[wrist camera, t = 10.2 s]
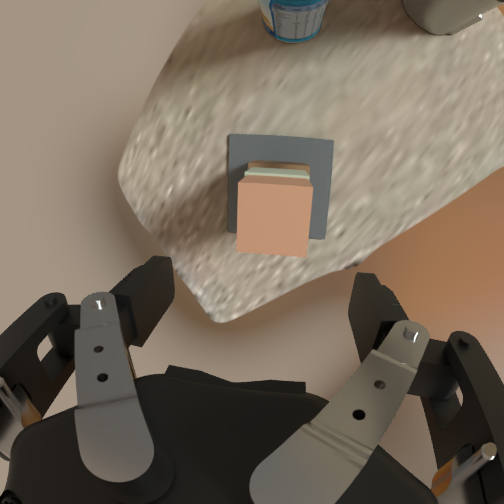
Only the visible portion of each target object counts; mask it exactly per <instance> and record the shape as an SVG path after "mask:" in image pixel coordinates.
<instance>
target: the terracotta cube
mask: <svg viewBox="0 0 504 504" xmlns="http://www.w3.org/2000/svg"><path fill="white" fill-rule="evenodd" d="M312 196H313V186H312V185H311V183H310V181H309V180H308V179H306V178H294V177H281V176H265V175H247V176H246V177H244V178H243V179H242V180H240V181H239V182H238V207H237V252H247V253H259V254H272V255H285V256H297V257H306V255H307V246H308V237H309V227H310V217H311V207H312Z"/></svg>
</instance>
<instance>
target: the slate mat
mask: <svg viewBox="0 0 504 504" xmlns="http://www.w3.org/2000/svg"><path fill="white" fill-rule="evenodd" d="M333 145H334V141H332V140H323V139H314V138H302V137H289V136H272V135H243V134H229V172H228V232H234V233H237V207H238V182H239V181H240V180H242V179H243V178H244V177H245V172H246V171H247V170H248V163H249V162H251V161H253V160H264V161H281V162H295V163H307V164H308V165H309V166H310V175H309V176H310V178H309V181H310V183H311V185H312V186H313V196H312V207H311V217H310V227H309V237H308V238H315V239H325V233H326V224H327V215H328V206H329V196H330V185H331V174H332V160H333Z"/></svg>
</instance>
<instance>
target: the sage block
mask: <svg viewBox="0 0 504 504" xmlns="http://www.w3.org/2000/svg"><path fill="white" fill-rule="evenodd" d="M247 175H265V176H281V177H294V178H306V179H308V180H309V178H310V176H309V175H308V173H307V172H306V171H305V170H292V169H278V168H260V167H252V168H250V169H249V170H247V171H246V172H245V177H246V176H247Z"/></svg>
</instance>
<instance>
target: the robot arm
mask: <svg viewBox="0 0 504 504" xmlns="http://www.w3.org/2000/svg"><path fill="white" fill-rule="evenodd" d="M503 3H504V0H403V5H404V8H405V10H406V12H407V13H408V15H409V16H410V18H411V19H412V20H413V21H414V22H415V23H416V24H417V25H419V26H420V27H421V28H423V29H424V30H426V31H428V32H430V33H432V34H436V35H444V34H451V35H454V34H456V33H457V32H459V31H461V30H463V29H465V28H467V27H469V26H471V25H473V24H475V23H477V22H479V21H481V20H482V14H483V13H485V12H487V11H489V10H491V9H493V8H495V7H497V6H499V5H501V4H503ZM174 293H175V287H174V278H173V267H172V260H171V258H170V257H164V256H153V257H151V258H150V260H148V261H147V262H146V263H145V264H144V265H141V266H139V267H137V268H135V269H133V270H132V271H131V272H130V273H129V274H128V275H127V276H126V277H125V278H123V280H121V281H120V282H119V283H118V284H117V285H116V286H115V287H114V288H113V289H112V290H110V292H96V293H93V294H91V295H88V296H87V297H85V298H84V299H83V300H82V302H81V305H68V304H67V300H66V297H65V295H64V294H62V293H57V292H56V293H50V294H47V295H45V296H43V297H41V298H40V299H39V300H38V301H37V302H35V303H34V304H33V305H32V306H31V307H30V308H29V309H28V310H26V311H25V312H24V313H23V314H22V315H21V316H20V317H19V318H18V319H17V320H16V321H15V322H13V323H12V325H10V326H9V327H8V328H7V329H6V330H5V331H4V332H3V333H2V334H1V335H0V457H1V458H3V459H4V460H6V461H10V463H9V473H8V478H7V483H6V486H5V489H4V491H3V493H2V495H1V496H0V504H504V384H503V383H502V381H501V379H500V377H499V375H498V374H497V372H496V370H495V368H494V366H493V364H492V363H491V361H490V359H489V358H488V356H487V354H486V353H485V351H484V349H483V348H482V346H481V345H480V343H479V342H478V340H477V339H476V338H475V337H474V336H472V335H470V334H469V333H466V332H463V331H455V332H453V333H451V335H450V337H449V339H448V341H447V342H444V341H438V340H434V339H430V335H429V332H428V330H427V329H426V328H425V327H424V326H422V325H421V324H419V323H417V322H414V321H410V320H409V319H408V317H407V315H406V313H405V312H404V310H403V308H402V307H401V305H400V303H399V301H398V300H397V298H396V296H395V295H394V293H393V291H391V290H390V289H389V288H387V287H386V286H385V285H381V284H380V282H379V280H378V279H377V277H376V276H375V274H374V273H359V272H358V273H357V274H356V276H355V280H354V285H353V290H352V294H351V299H350V303H349V309H348V316H349V321H350V324H351V328H352V331H353V335H354V339H355V343H356V346H357V350H358V354H359V358H360V361H361V365H360V366H359V368H358V369H357V370H356V371H355V372H354V374H353V375H352V376H351V377H350V379H349V380H348V381H347V382H346V383H345V385H344V386H343V387H342V388H341V390H339V392H338V393H337V394H336V395H335V396H334V397H333V399H332V400H331V401H330V402H329V401H328V400H326V399H324V398H322V397H319V396H317V395H314V394H311V393H307V392H306V386H305V385H306V383H305V382H294V381H279V380H264V381H252V382H238V383H235V382H229V381H227V380H224V379H221V378H218V377H216V376H213V375H210V374H208V373H205V372H202V371H199V370H193V369H188V368H182V367H177V366H172V365H169V366H168V368H167V370H166V372H165V374H153V375H147V376H143V377H139V378H137V377H136V373H135V370H134V367H133V363H132V359H131V356H130V352H129V349H128V348H129V346H130V345H134V346H138V347H142V346H143V345H144V343H145V342H146V340H147V339H148V337H149V336H150V334H151V333H152V331H153V329H154V328H155V326H156V325H157V323H158V322H159V321H160V319H161V318H162V316H163V315H164V313H165V312H166V310H167V309H168V307H169V306H170V304H171V303H172V301H173V299H174ZM47 335H48V337H49V339H50V342H51V344H52V346H53V347H52V349H51V350H50V351H49V352H48V353H47V354H46V356H45V357H44V358H43V359H42V361H41V362H40V360H39V358H38V355H37V348H38V346H39V344H40V343H41V342H42V341H43V339H44V338H45V337H46V336H47ZM74 370H75V375H76V390H77V401H78V405H77V406H74V407H72V408H69V409H67V410H65V411H62V412H60V413H57V414H55V415H53V416H50V417H48V418H45V419H43V420H42V418H43V417H44V415H45V413H46V412H47V410H48V409H49V407H50V406H51V404H52V403H53V401H54V399H55V398H56V396H57V395H58V393H59V392H60V390H61V389H62V388H63V386H64V384H65V383H66V382H67V380H68V379H69V377H70V376H71V374H72V373H73V372H74ZM458 387H460V389H461V391H462V394H463V403H462V406H461V405H460V403H459V400H458V397H457V395H456V390H457V389H458ZM406 394H411V395H417V396H420V398H421V401H422V405H423V408H424V412H425V416H426V419H427V423H428V427H429V431H430V435H431V440H432V444H433V448H434V453H435V458H436V463H437V468H438V471H437V472H436V473H435V475H434V477H433V479H432V486H431V489H429V488H428V487H427V486H426V485H425V484H424V483H422V482H421V481H420V480H418V478H416V477H415V476H414V475H413V474H412V473H410V472H409V471H408V470H407V469H406V468H404V467H403V466H402V465H401V464H400V463H399V462H398V461H396V460H395V459H394V458H393V457H392V456H391V455H390V454H388V453H387V452H386V451H385V450H384V449H383V448H382V447H380V446H379V445H378V443H379V441H380V440H381V438H382V437H383V435H384V433H385V432H386V430H387V428H388V427H389V425H390V423H391V422H392V420H393V418H394V416H395V415H396V413H397V411H398V409H399V407H400V405H401V403H402V401H403V400H404V398H405V396H406Z"/></svg>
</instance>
